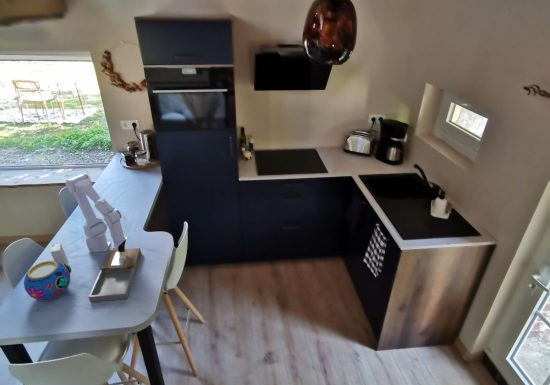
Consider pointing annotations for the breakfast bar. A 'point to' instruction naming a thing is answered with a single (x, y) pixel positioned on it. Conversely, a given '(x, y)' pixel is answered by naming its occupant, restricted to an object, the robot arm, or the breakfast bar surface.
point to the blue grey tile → (118, 263)
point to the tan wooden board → (130, 260)
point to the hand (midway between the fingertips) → (122, 252)
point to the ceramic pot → (47, 280)
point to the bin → (112, 285)
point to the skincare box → (59, 254)
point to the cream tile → (120, 255)
